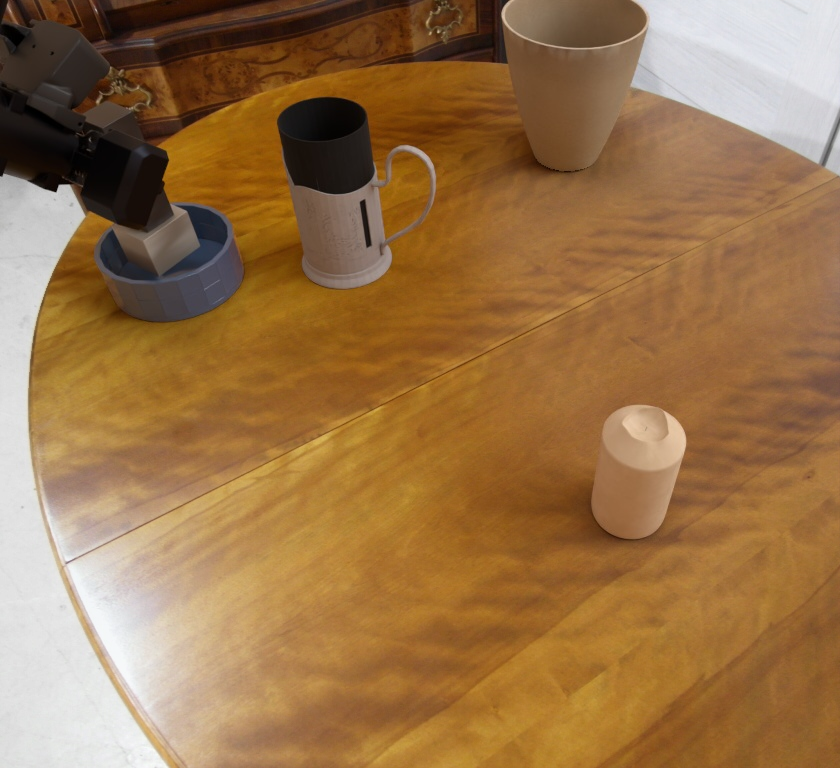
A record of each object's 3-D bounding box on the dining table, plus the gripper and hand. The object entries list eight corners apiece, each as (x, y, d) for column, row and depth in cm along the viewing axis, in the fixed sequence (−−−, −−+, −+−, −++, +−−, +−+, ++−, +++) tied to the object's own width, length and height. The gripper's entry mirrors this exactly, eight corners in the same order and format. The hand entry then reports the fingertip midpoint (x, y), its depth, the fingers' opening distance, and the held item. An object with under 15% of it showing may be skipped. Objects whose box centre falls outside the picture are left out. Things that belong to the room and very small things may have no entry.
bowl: (91, 319, 70) (71, 281, 66) (139, 238, 78) (123, 200, 74) (224, 324, 70) (211, 286, 66) (258, 242, 78) (247, 204, 74)
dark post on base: (159, 277, 69) (95, 136, 58) (128, 261, 70) (60, 121, 60) (200, 246, 72) (147, 106, 61) (170, 232, 73) (112, 93, 62)
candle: (623, 465, 60) (641, 377, 52) (680, 508, 57) (707, 423, 50) (575, 507, 57) (587, 420, 50) (632, 554, 55) (654, 471, 47)
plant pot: (514, 115, 95) (517, -22, 84) (634, 130, 94) (655, -8, 82) (487, 182, 85) (486, 37, 74) (621, 200, 84) (642, 54, 72)
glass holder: (326, 225, 80) (299, 86, 69) (456, 252, 77) (450, 112, 66) (285, 278, 74) (249, 135, 63) (424, 309, 71) (412, 166, 60)
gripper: (95, 34, 48) (262, 122, 62) (-84, -31, 54) (105, 63, 69) (39, 204, 49) (215, 252, 64) (-130, 122, 55) (66, 182, 70)
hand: (148, 181), depth 66 cm, fingers closed on dark post on base, 3 cm apart
